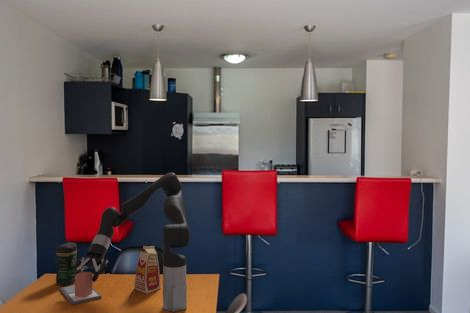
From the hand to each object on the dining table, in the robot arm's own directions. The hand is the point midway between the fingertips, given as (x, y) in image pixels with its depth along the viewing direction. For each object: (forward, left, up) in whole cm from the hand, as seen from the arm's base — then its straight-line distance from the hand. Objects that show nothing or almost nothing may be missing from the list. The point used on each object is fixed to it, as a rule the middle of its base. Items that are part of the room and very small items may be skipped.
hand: (84, 280), depth 172 cm
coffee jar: (+23, +2, -7) cm, 24 cm away
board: (+4, +1, -7) cm, 8 cm away
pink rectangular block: (-1, 0, -6) cm, 6 cm away
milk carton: (-6, -26, -7) cm, 28 cm away
